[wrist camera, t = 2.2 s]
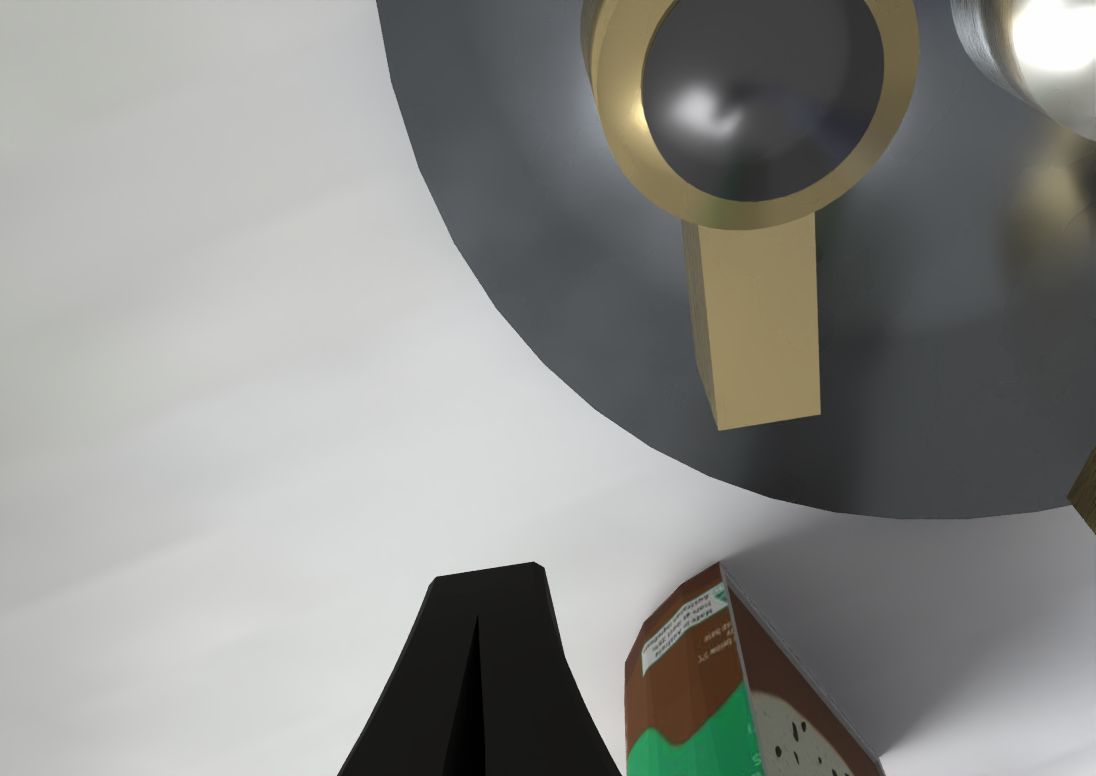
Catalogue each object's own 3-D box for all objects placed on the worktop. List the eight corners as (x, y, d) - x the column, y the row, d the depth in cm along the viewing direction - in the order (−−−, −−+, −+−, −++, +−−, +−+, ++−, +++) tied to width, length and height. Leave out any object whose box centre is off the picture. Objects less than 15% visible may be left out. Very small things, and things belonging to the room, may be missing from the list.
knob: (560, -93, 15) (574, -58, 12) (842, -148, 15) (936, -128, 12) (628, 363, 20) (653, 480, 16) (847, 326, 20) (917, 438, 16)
